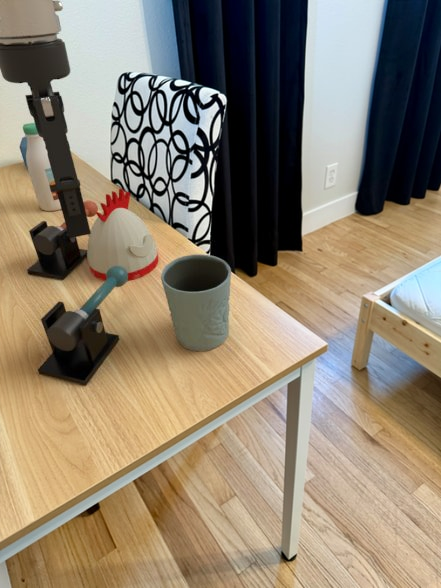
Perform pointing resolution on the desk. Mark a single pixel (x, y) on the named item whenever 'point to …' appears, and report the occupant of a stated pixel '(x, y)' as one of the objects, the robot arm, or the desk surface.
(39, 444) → the desk surface
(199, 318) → the grey green cup
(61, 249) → the back stand
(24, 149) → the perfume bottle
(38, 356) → the desk surface
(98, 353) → the front stand
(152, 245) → the kitchen timer
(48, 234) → the terracotta lever
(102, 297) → the ball top lever
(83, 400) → the desk surface
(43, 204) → the milk bottle
